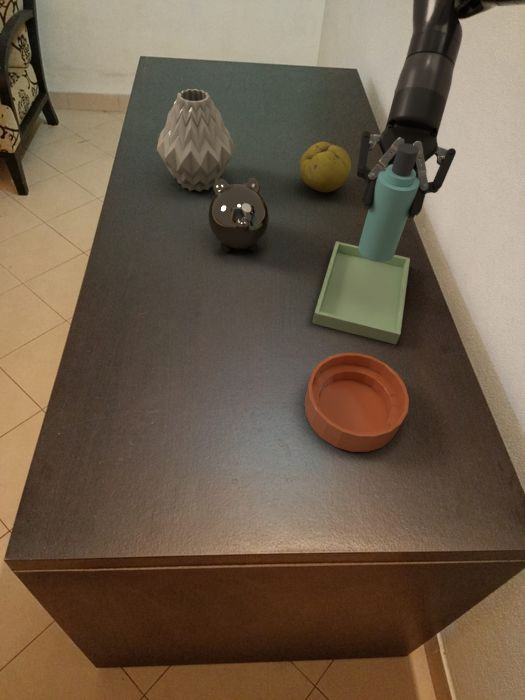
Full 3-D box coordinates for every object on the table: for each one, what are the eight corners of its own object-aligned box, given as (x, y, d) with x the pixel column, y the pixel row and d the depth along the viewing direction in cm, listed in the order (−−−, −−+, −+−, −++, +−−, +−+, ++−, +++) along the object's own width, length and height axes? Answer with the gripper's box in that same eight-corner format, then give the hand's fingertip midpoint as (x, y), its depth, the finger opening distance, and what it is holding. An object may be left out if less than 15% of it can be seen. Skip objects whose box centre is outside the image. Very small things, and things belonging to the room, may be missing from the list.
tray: (406, 268, 91) (410, 258, 89) (395, 344, 78) (400, 334, 76) (333, 251, 93) (336, 241, 91) (312, 323, 80) (314, 312, 78)
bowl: (402, 386, 73) (412, 366, 69) (393, 466, 64) (404, 448, 60) (314, 363, 75) (319, 342, 71) (294, 437, 66) (298, 419, 62)
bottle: (395, 243, 79) (431, 142, 66) (392, 265, 75) (429, 163, 62) (360, 235, 80) (389, 134, 66) (355, 257, 76) (384, 154, 63)
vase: (177, 157, 111) (170, 72, 97) (242, 171, 109) (246, 87, 95) (148, 193, 101) (135, 104, 87) (219, 209, 99) (219, 121, 85)
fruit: (343, 176, 111) (352, 135, 103) (347, 205, 103) (357, 162, 96) (296, 173, 110) (302, 131, 103) (297, 201, 103) (303, 158, 95)
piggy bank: (259, 217, 98) (263, 166, 89) (271, 264, 89) (276, 212, 80) (206, 219, 97) (204, 167, 88) (212, 267, 87) (211, 215, 78)
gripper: (373, 76, 65) (342, 196, 67) (478, 95, 64) (443, 218, 65) (369, 100, 73) (341, 208, 75) (463, 118, 71) (432, 227, 73)
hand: (389, 212), depth 70 cm, fingers closed on bottle, 6 cm apart
